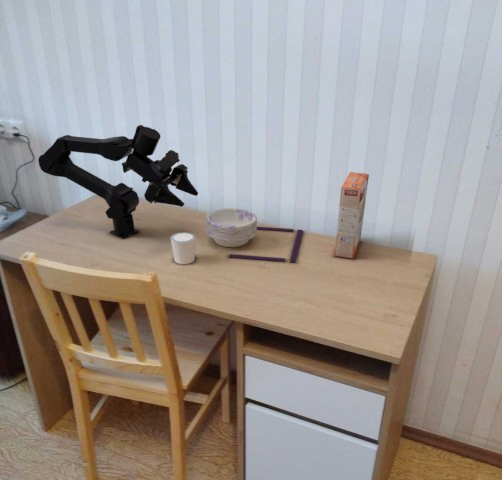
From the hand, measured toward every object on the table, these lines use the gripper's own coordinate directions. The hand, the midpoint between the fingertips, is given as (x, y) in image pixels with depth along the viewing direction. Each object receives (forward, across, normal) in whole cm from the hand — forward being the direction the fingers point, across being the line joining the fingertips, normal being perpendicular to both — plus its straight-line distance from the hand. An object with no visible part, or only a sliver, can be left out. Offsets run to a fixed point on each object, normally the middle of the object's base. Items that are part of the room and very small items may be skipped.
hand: (190, 199), depth 153 cm
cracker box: (+46, +13, -10) cm, 48 cm away
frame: (+25, +8, +2) cm, 26 cm away
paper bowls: (+16, +6, +7) cm, 18 cm away
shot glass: (+9, -10, +11) cm, 18 cm away
